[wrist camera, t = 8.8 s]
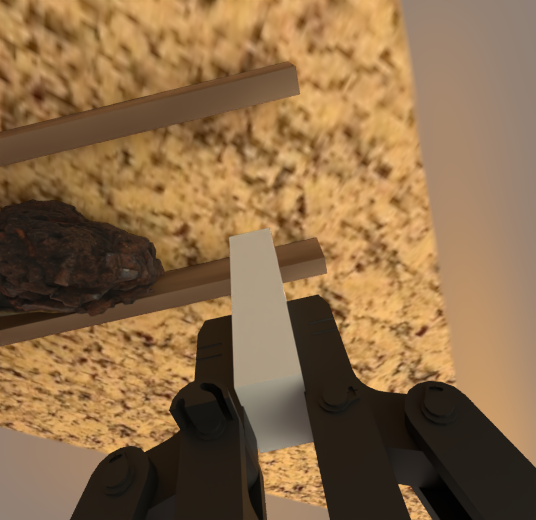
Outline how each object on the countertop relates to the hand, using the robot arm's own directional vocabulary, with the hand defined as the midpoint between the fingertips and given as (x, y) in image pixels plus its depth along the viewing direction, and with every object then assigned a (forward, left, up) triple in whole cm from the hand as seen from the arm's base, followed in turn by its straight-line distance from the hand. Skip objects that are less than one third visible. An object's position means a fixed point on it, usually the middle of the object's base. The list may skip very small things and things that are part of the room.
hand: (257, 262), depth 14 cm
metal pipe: (+1, -15, -10) cm, 18 cm away
